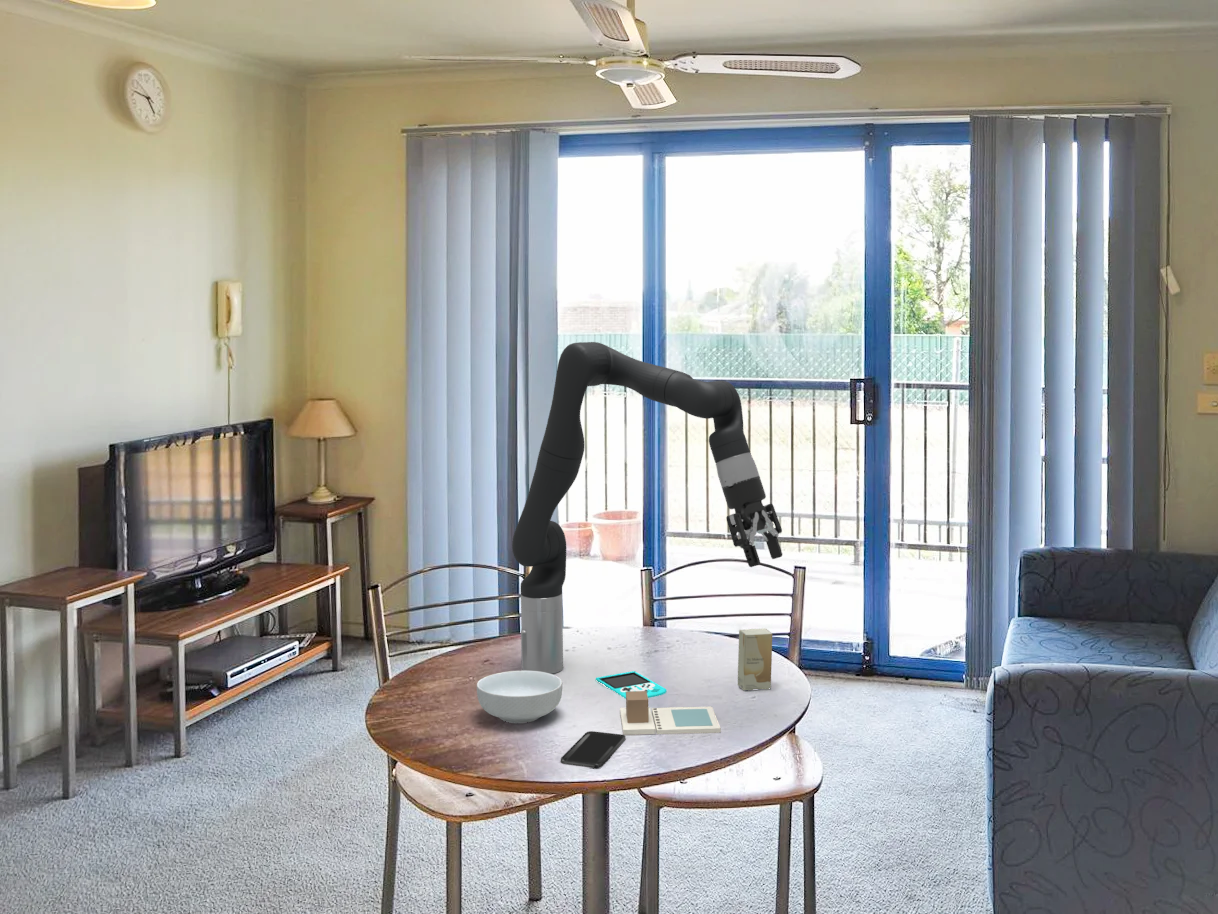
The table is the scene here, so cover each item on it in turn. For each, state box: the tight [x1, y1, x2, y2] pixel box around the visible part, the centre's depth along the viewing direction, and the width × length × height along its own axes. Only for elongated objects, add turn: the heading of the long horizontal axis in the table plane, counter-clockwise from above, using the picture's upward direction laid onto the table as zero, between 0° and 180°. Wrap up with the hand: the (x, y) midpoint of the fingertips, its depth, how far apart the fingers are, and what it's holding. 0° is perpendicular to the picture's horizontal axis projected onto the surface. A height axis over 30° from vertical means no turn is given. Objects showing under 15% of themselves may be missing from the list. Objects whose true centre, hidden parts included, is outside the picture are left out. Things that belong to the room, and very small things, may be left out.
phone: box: [560, 730, 627, 770], centre depth 202 cm, size 8×1×15 cm
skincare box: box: [737, 627, 773, 691], centre depth 235 cm, size 6×4×12 cm
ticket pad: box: [651, 706, 722, 735], centre depth 215 cm, size 12×12×1 cm
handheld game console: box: [595, 670, 667, 700], centre depth 237 cm, size 10×16×1 cm, turn 27°
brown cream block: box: [619, 691, 656, 736], centre depth 215 cm, size 6×12×6 cm, turn 2°
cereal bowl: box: [476, 670, 563, 724], centre depth 219 cm, size 17×17×7 cm
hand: (766, 561), depth 212 cm, fingers open, 8 cm apart
